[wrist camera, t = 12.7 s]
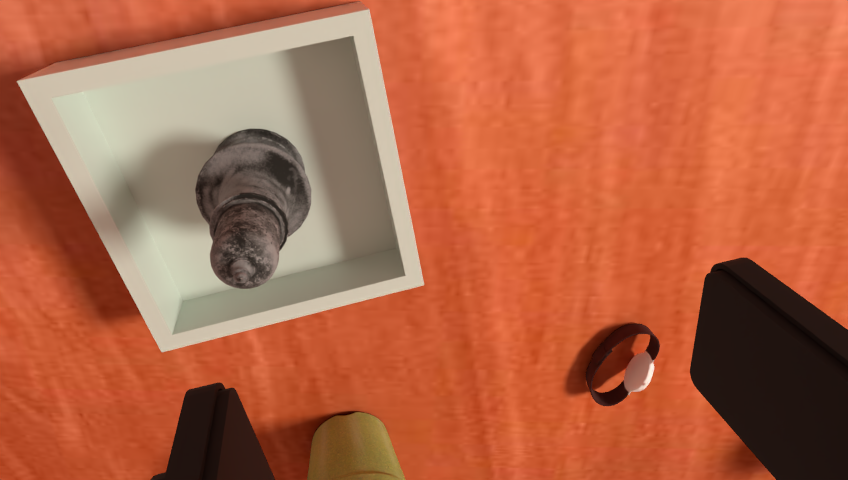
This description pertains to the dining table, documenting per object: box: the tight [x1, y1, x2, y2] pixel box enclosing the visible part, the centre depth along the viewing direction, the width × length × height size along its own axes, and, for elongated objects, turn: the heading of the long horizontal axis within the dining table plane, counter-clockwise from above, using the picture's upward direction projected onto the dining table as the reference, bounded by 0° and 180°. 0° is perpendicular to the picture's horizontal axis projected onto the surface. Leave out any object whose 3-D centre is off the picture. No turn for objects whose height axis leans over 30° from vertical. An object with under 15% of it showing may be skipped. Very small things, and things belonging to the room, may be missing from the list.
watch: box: [586, 324, 660, 406], centre depth 45 cm, size 8×5×4 cm, turn 155°
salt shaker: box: [195, 129, 311, 289], centre depth 27 cm, size 6×6×12 cm
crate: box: [17, 1, 424, 352], centre depth 31 cm, size 16×16×4 cm
